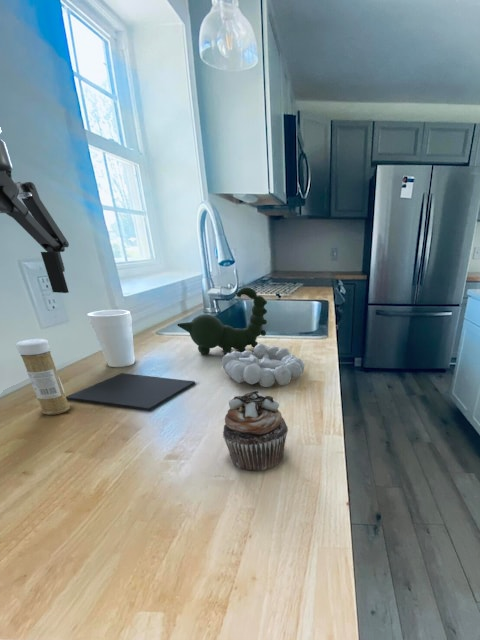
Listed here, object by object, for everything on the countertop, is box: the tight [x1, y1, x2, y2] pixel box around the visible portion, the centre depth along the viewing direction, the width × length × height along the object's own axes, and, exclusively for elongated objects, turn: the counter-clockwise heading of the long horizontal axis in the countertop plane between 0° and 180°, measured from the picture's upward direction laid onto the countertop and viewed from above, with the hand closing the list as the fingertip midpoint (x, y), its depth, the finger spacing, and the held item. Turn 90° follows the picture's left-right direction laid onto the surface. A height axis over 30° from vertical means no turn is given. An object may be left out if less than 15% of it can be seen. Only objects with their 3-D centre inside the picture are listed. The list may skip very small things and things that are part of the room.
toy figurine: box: [176, 287, 268, 356], centre depth 105 cm, size 9×19×25 cm
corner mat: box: [66, 372, 196, 412], centre depth 80 cm, size 20×16×1 cm
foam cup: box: [86, 309, 136, 368], centre depth 94 cm, size 10×9×13 cm
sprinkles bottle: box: [15, 338, 71, 416], centre depth 67 cm, size 5×5×13 cm
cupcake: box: [222, 390, 289, 472], centre depth 54 cm, size 10×10×10 cm
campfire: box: [221, 343, 306, 388], centre depth 89 cm, size 22×21×6 cm
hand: (25, 297), depth 60 cm, fingers open, 13 cm apart
